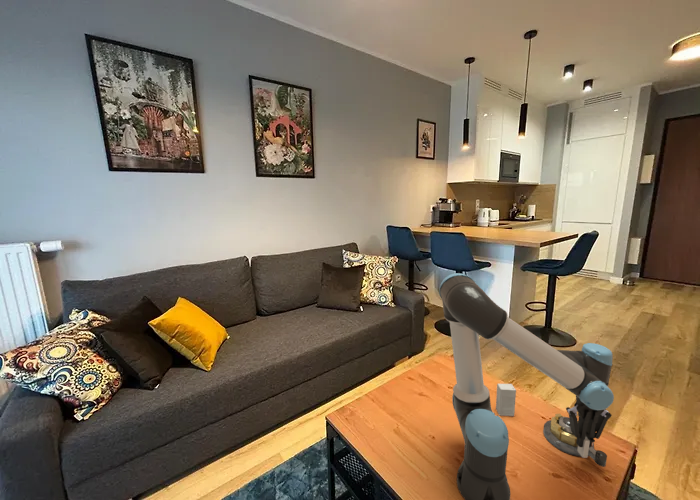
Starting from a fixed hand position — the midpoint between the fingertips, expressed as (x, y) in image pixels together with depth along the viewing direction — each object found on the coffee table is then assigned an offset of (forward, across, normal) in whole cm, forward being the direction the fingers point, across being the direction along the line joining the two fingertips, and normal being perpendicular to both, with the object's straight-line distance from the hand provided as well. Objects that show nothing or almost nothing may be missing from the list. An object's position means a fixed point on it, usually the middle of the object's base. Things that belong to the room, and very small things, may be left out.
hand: (582, 454), depth 101 cm
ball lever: (+1, -2, -5) cm, 6 cm away
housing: (+3, -1, -10) cm, 10 cm away
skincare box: (+3, +16, -23) cm, 28 cm away
